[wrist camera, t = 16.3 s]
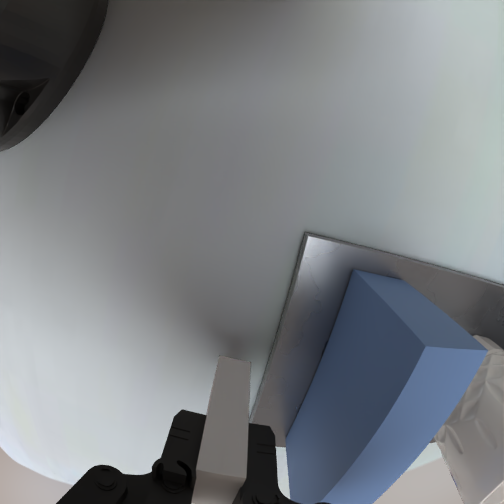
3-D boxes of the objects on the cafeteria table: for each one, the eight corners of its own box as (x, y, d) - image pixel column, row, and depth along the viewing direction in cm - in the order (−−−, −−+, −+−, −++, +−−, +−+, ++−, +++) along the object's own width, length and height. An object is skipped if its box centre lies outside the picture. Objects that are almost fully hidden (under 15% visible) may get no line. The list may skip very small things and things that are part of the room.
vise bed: (244, 432, 17) (244, 442, 17) (304, 232, 14) (308, 236, 13) (469, 428, 18) (474, 434, 17) (540, 296, 15) (547, 301, 14)
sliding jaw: (285, 439, 16) (292, 529, 9) (353, 269, 13) (425, 346, 7) (335, 442, 16) (355, 524, 10) (413, 282, 14) (497, 350, 7)
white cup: (389, 416, 16) (440, 532, 6) (450, 315, 14) (558, 417, 4) (458, 417, 16) (510, 499, 7) (510, 334, 15) (590, 404, 5)
